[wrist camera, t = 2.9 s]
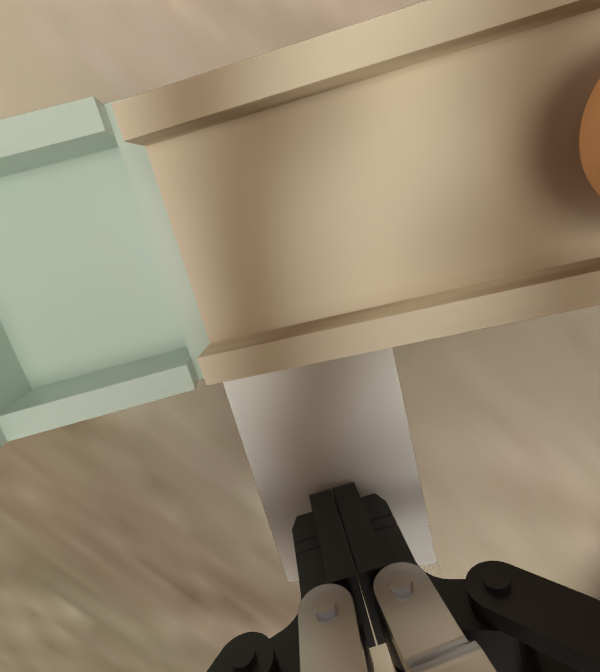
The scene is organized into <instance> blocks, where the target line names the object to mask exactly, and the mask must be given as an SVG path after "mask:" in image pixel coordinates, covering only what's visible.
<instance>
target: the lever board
mask: <svg viewBox="0 0 600 672" xmlns="http://www.w3.org/2000/svg"><path fill="white" fill-rule="evenodd" d="M599 78H600V0H428V1H425V2H422V3H419V4H415V5H412V6H409V7H406V8H403V9H400V10H397V11H394V12H391V13H388V14H385V15H382V16H379V17H376V18H372V19H369V20H366V21H363V22H360V23H357V24H354V25H351V26H348V27H345V28H342V29H339V30H336V31H333V32H330V33H326V34H323V35H320V36H317V37H314V38H311V39H308V40H305V41H302V42H299V43H296V44H293V45H290V46H287V47H283V48H280V49H277V50H274V51H271V52H268V53H265V54H262V55H259V56H256V57H253V58H250V59H247V60H244V61H241V62H237V63H234V64H231V65H228V66H225V67H222V68H219V69H216V70H213V71H210V72H207V73H204V74H201V75H198V76H194V77H191V78H188V79H185V80H182V81H179V82H176V83H173V84H170V85H167V86H164V87H161V88H158V89H155V90H152V91H148V92H145V93H142V94H139V95H136V96H133V97H130V98H127V99H124V100H121V101H118V102H115V103H112V104H111V106H112V109H113V111H114V114H115V117H116V120H117V123H118V126H119V129H120V132H121V135H122V138H123V141H124V142H129V143H133V144H137V145H141V146H146V149H147V152H148V155H149V158H150V161H151V165H152V168H153V171H154V174H155V177H156V180H157V183H158V186H159V189H160V192H161V195H162V198H163V201H164V204H165V207H166V210H167V213H168V217H169V220H170V223H171V226H172V229H173V232H174V235H175V238H176V241H177V244H178V247H179V250H180V253H181V256H182V259H183V262H184V265H185V268H186V272H187V275H188V278H189V281H190V284H191V287H192V290H193V293H194V296H195V299H196V302H197V305H198V308H199V311H200V314H201V317H202V320H203V324H204V327H205V330H206V333H207V336H208V339H209V342H210V344H209V345H208V346H207V347H206V349H205V350H204V351H203V352H202V353H201V354H200V355H199V357H198V358H197V359H198V362H199V365H200V368H201V371H202V374H203V377H204V380H205V383H206V386H207V385H212V384H217V383H222V382H223V385H224V388H225V391H226V394H227V397H228V400H229V403H230V406H231V409H232V412H233V415H234V418H235V421H236V424H237V427H238V431H239V434H240V437H241V440H242V443H243V446H244V449H245V452H246V455H247V458H248V461H249V464H250V467H251V470H252V473H253V476H254V479H255V483H256V486H257V489H258V492H259V495H260V498H261V501H262V504H263V507H264V510H265V513H266V516H267V519H268V522H269V525H270V528H271V531H272V535H273V538H274V541H275V544H276V547H277V550H278V553H279V556H280V559H281V562H282V565H283V568H284V571H285V574H286V577H287V580H288V582H296V581H299V576H298V569H297V562H296V554H295V548H294V541H293V534H292V528H293V525H294V522H295V519H296V517H297V516H299V515H302V514H306V513H309V512H312V508H311V503H310V499H309V495H310V494H314V493H317V492H321V491H324V490H328V489H331V492H332V495H333V498H334V502H335V505H336V508H337V504H336V501H335V497H334V493H333V489H332V488H334V487H337V486H341V485H344V484H348V483H351V482H354V483H355V485H356V487H357V490H358V492H359V495H360V497H363V496H367V495H370V494H374V493H376V494H377V495H378V496H380V497H381V498H382V499H384V500H385V501H386V502H387V504H388V506H389V508H390V510H391V512H392V514H393V516H394V518H395V520H396V522H397V525H398V526H399V528H400V530H401V532H402V534H403V536H404V538H405V541H406V543H407V545H408V547H409V549H410V551H411V553H412V555H413V557H414V559H415V561H416V563H417V564H418V566H422V565H430V564H437V561H436V556H435V551H434V546H433V542H432V537H431V532H430V527H429V522H428V517H427V513H426V508H425V503H424V498H423V493H422V488H421V484H420V479H419V474H418V469H417V464H416V459H415V455H414V450H413V445H412V440H411V435H410V430H409V426H408V421H407V416H406V411H405V406H404V401H403V397H402V392H401V387H400V382H399V377H398V372H397V368H396V363H395V358H394V353H393V348H392V347H396V346H401V345H406V344H411V343H416V342H421V341H425V340H430V339H435V338H440V337H445V336H450V335H455V334H459V333H464V332H469V331H474V330H479V329H484V328H489V327H493V326H498V325H503V324H508V323H513V322H518V321H522V320H527V319H532V318H537V317H542V316H547V315H552V314H556V313H561V312H566V311H571V310H576V309H581V308H585V307H590V306H595V305H600V196H599V195H598V194H597V192H596V191H595V190H594V189H593V187H592V186H591V184H590V183H589V181H588V179H587V177H586V175H585V172H584V170H583V166H582V162H581V158H580V150H579V134H580V126H581V121H582V116H583V113H584V110H585V106H586V104H587V102H588V99H589V97H590V95H591V93H592V91H593V89H594V87H595V85H596V83H597V81H598V80H599ZM337 512H338V508H337ZM338 515H339V512H338ZM339 518H340V516H339ZM340 521H341V519H340ZM341 525H342V523H341ZM342 528H343V527H342ZM343 531H344V530H343Z"/></svg>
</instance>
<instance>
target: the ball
mask: <svg viewBox="0 0 600 672" xmlns="http://www.w3.org/2000/svg"><path fill="white" fill-rule="evenodd" d="M579 150H580V158H581V162H582V166H583V170H584V172H585V175H586V177H587V179H588V181H589V183H590V184H591V186H592V187H593V189H594V190H595V191H596V192H597V194H598V195H599V196H600V78H599V80H598V81H597V83H596V85H595V87H594V89H593V91H592V93H591V95H590V97H589V99H588V102H587V104H586V106H585V110H584V113H583V116H582V121H581V126H580V134H579Z"/></svg>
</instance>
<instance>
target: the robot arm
mask: <svg viewBox="0 0 600 672" xmlns="http://www.w3.org/2000/svg"><path fill="white" fill-rule="evenodd" d="M332 489H333V493H334V497H335V501H336V504H337V508H338V512H339V515H338V512H337V508H336V505H335V502H334V498H333V495H332V492H331V489H328V490H324V491H321V492H317V493H314V494H310V495H309V499H310V503H311V508H312V512H309V513H306V514H302V515H299V516H297V517H296V519H295V522H294V525H293V528H292V534H293V541H294V548H295V554H296V562H297V569H298V576H299V583H300V590H301V602H300V605H299V608H298V614H297V616H296V617H295V619H294V620H293V621H292V622H291V624H289V625H288V626H287V627H286V628H285V629H284V630H282V631H281V632H279V633H278V634H276V635H275V636H273V637H272V638H270V639H269V638H268V637H267V636H265V635H264V634H262V633H258V632H247V633H243V634H241V635H239V636H237V637H235V638H234V639H232V640H231V641H230V642H229V643H228V644H227V645H226V646H225V647H224V648H223V649H222V651H221V652H220V653H219V655H218V656H217V658H216V659H215V661H214V662H213V663H212V665H211V666H210V668H209V669H208V671H207V672H374V665H373V661H372V658H371V654H370V650H369V648H370V647H374V646H376V645H375V641H374V637H373V634H372V630H371V626H370V622H369V619H368V615H367V611H366V607H367V610H368V613H369V617H370V620H371V623H372V626H373V630H374V633H375V636H376V639H377V643H378V645H380V644H383V643H386V644H387V647H388V650H389V653H390V656H391V660H392V664H393V668H394V671H395V672H600V600H598V599H595V598H593V597H590V596H588V595H585V594H583V593H580V592H578V591H575V590H573V589H570V588H568V587H565V586H563V585H560V584H558V583H555V582H553V581H550V580H548V579H545V578H543V577H540V576H538V575H535V574H533V573H530V572H528V571H525V570H523V569H520V568H518V567H515V566H513V565H510V564H507V563H504V562H500V561H486V562H482V563H479V564H477V565H475V566H474V567H472V568H471V569H470V570H469V572H468V574H467V576H466V579H442V578H438V577H434V576H432V575H430V574H428V573H426V572H425V571H424V570H423V569H421V568H420V567H419V566H418V564H417V563H416V561H415V559H414V557H413V555H412V553H411V551H410V549H409V547H408V545H407V543H406V541H405V538H404V536H403V534H402V532H401V530H400V528H399V526H398V525H397V522H396V520H395V518H394V516H393V514H392V512H391V510H390V508H389V506H388V504H387V502H386V501H385V500H384V499H382V498H381V497H380V496H378V495H377V494H376V493H374V494H370V495H367V496H363V497H360V495H359V492H358V490H357V487H356V485H355V483H354V482H351V483H348V484H344V485H341V486H337V487H334V488H332ZM339 516H340V518H339ZM340 519H341V521H340ZM341 523H342V525H341ZM342 527H343V528H342ZM343 530H344V531H343ZM359 584H360V585H359ZM360 587H361V589H360ZM361 590H362V592H361ZM362 594H363V596H362ZM363 597H364V600H365V603H366V607H365V604H364V600H363Z"/></svg>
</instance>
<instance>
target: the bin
mask: <svg viewBox="0 0 600 672" xmlns="http://www.w3.org/2000/svg"><path fill="white" fill-rule="evenodd" d="M129 98H130V97H129ZM125 99H127V98H125ZM122 100H124V99H122ZM118 101H121V100H118ZM118 101H114V102H110V103H106V104H103V103H102V102H100V101H99V100H98V99H96V98H95V97H94V96H92V97H88V98H84V99H80V100H76V101H72V102H68V103H65V104H61V105H57V106H53V107H49V108H45V109H41V110H37V111H33V112H29V113H25V114H21V115H18V116H14V117H10V118H6V119H2V120H0V448H1V447H2V446H3V445H4V444H5V443H7V442H8V441H11V440H15V439H19V438H22V437H26V436H29V435H33V434H37V433H40V432H44V431H47V430H51V429H55V428H58V427H62V426H66V425H69V424H73V423H76V422H80V421H84V420H87V419H91V418H94V417H98V416H102V415H105V414H109V413H112V412H116V411H120V410H123V409H127V408H131V407H134V406H138V405H141V404H145V403H149V402H152V401H156V400H159V399H163V398H167V397H170V396H174V395H177V394H181V393H185V392H188V391H192V390H195V389H196V386H197V383H198V380H200V379H204V377H203V374H202V371H201V368H200V365H199V362H198V359H197V358H198V357H199V355H200V354H201V353H202V352H203V351H204V350H205V349H206V347H207V346H208V345H209V344H210V342H209V339H208V336H207V333H206V330H205V327H204V324H203V320H202V317H201V314H200V311H199V308H198V305H197V302H196V299H195V296H194V293H193V290H192V287H191V284H190V281H189V278H188V275H187V272H186V268H185V265H184V262H183V259H182V256H181V253H180V250H179V247H178V244H177V241H176V238H175V235H174V232H173V229H172V226H171V223H170V220H169V217H168V213H167V210H166V207H165V204H164V201H163V198H162V195H161V192H160V189H159V186H158V183H157V180H156V177H155V174H154V171H153V168H152V165H151V161H150V158H149V155H148V152H147V149H146V146H141V145H137V144H133V143H129V142H124V141H123V138H122V135H121V132H120V129H119V126H118V123H117V120H116V117H115V114H114V111H113V109H112V106H111V104H112V103H115V102H118Z"/></svg>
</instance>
